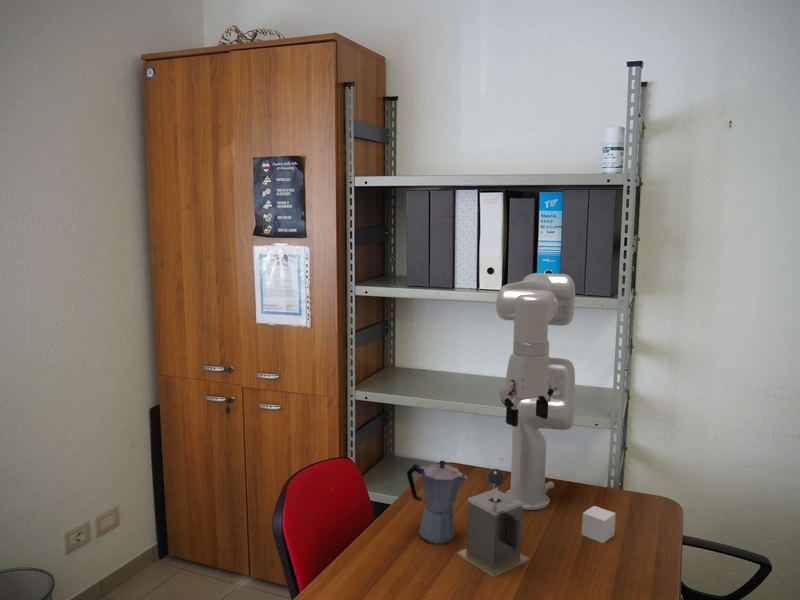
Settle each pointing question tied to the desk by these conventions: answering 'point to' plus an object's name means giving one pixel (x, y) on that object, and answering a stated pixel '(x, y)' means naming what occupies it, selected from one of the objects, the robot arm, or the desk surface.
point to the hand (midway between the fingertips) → (526, 421)
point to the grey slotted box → (494, 533)
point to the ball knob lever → (495, 481)
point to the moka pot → (437, 500)
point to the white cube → (598, 524)
